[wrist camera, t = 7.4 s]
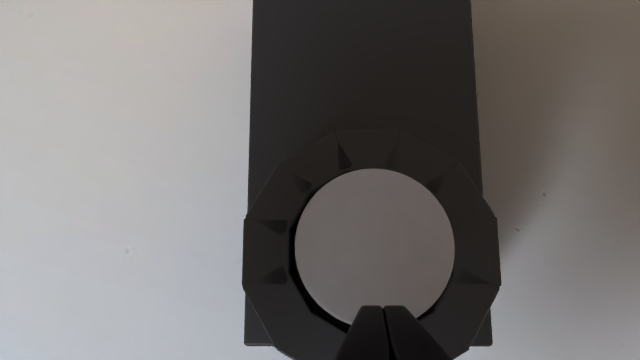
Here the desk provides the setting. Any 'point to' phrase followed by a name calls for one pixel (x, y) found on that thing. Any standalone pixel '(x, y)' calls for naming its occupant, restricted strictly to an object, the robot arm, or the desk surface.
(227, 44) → the desk surface
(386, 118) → the push button base
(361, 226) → the gray round disc
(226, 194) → the desk surface
